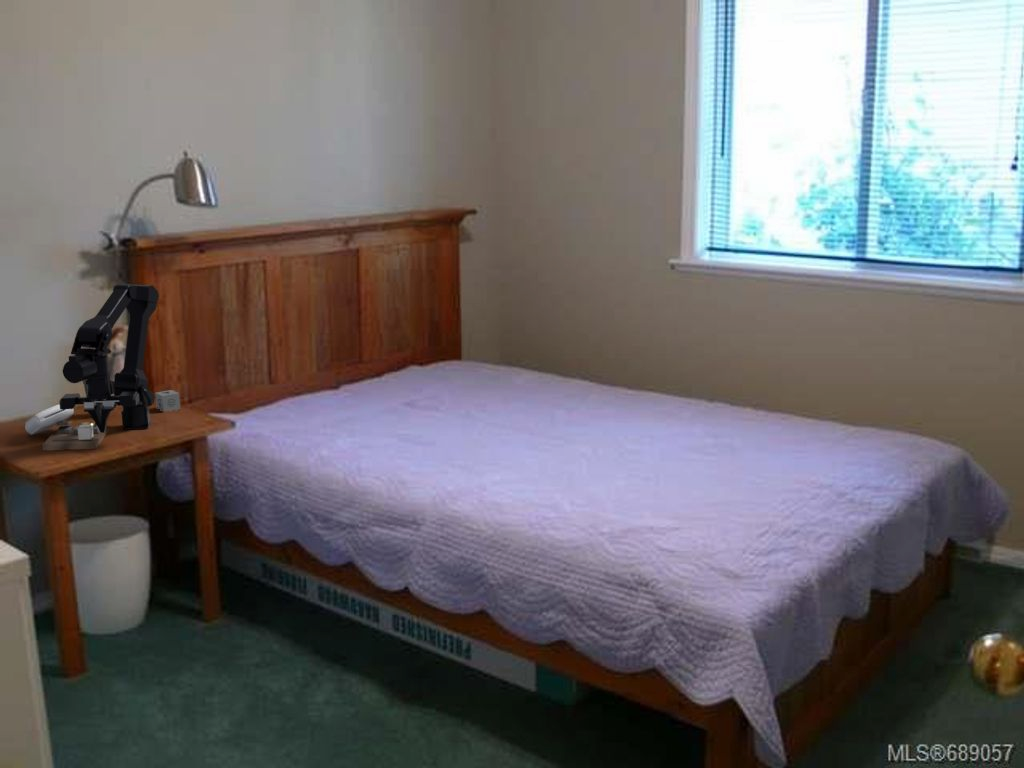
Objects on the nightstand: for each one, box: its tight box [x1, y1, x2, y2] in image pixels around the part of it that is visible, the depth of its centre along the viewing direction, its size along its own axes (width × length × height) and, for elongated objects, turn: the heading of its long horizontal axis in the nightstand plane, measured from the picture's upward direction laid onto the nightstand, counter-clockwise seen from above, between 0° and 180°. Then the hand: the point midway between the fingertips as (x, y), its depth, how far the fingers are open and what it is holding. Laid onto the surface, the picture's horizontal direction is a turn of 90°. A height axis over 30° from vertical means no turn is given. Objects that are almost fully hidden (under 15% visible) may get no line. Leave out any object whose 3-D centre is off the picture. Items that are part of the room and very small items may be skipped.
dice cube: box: [154, 389, 181, 412], centre depth 319 cm, size 5×5×5 cm
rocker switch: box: [56, 420, 73, 427], centre depth 292 cm, size 3×4×1 cm, turn 8°
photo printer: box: [24, 404, 75, 436], centre depth 293 cm, size 10×4×12 cm
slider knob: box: [78, 425, 93, 440], centre depth 285 cm, size 3×3×3 cm
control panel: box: [41, 421, 108, 451], centre depth 289 cm, size 13×14×3 cm
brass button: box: [81, 421, 95, 428], centre depth 293 cm, size 3×3×2 cm
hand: (102, 432), depth 286 cm, fingers closed
